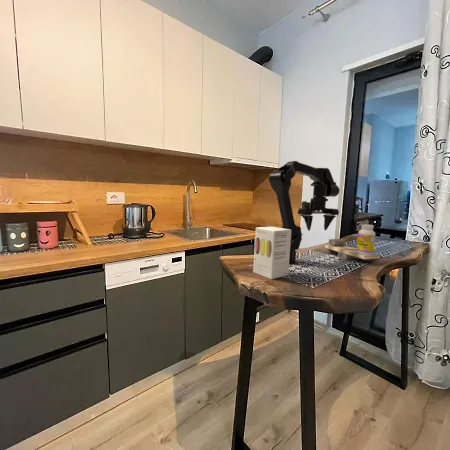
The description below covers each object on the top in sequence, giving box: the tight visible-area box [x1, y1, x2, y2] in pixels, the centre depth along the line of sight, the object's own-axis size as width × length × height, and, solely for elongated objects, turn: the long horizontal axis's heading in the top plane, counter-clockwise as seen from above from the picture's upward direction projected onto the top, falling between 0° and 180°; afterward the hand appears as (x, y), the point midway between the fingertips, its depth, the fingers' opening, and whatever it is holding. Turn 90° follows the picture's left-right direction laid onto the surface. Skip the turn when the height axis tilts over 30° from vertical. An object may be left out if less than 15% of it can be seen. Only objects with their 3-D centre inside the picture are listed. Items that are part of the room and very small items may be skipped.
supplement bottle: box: [356, 223, 376, 255], centre depth 113 cm, size 7×7×13 cm
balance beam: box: [324, 238, 381, 261], centre depth 121 cm, size 24×10×7 cm, turn 19°
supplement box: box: [252, 226, 291, 280], centre depth 92 cm, size 10×9×17 cm
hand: (317, 230), depth 118 cm, fingers open, 9 cm apart
